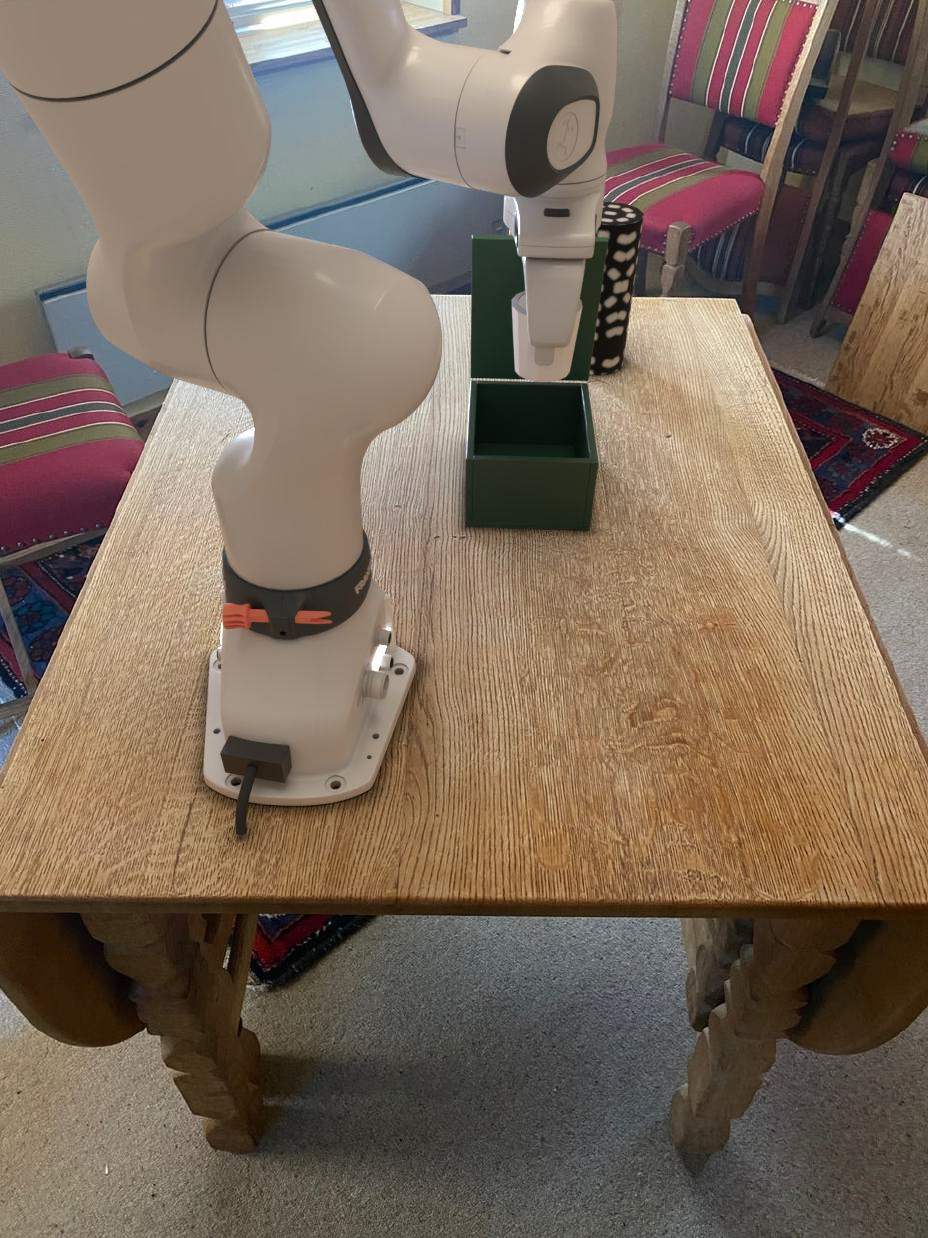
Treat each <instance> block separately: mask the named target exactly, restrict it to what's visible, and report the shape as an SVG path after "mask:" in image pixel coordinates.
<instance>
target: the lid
mask: <svg viewBox="0 0 928 1238" xmlns="http://www.w3.org/2000/svg"><path fill="white" fill-rule="evenodd" d="M607 247H608V237H595V246H594V253H593V256H592V258H586V260H585V269H584V276H583V283H582V288H581V294H580V300H581V301H582V312H581V317H580V322H579V327H578V332H577V337H576V342H575V347H574V352H573V358H572V363H571V368H570V372H569V373H568V375H567V376H566V377H564V378H563V379H561V380H559V382H564V381H565V382H589V379H590V374H589V373H590V366H591V359H592V352H593V345H594V338H595V331H596V324H597V317H598V310H599V303H600V296H601V289H602V282H603V275H604V268H605V261H606V254H607ZM470 275H471V279H470V280H471V281H470V282H471V283H470V284H471V285H470V286H471V288H470V289H471V290H470V292H471V293H470V376H469V377H470V379H479V380H485V379H486V380H520V381H521V380H522V381H528V380H527V379H525V378H523V377H521V376H519V375H518V374H517V373H516V372H515V363H514V341H513V319H512V299H513V298H514V297H515V295H516V294H518V293H521V292H523V291H525V278H524V268H523V262H522V257H520V256H519V255H518V253H517V248H516V243H515V240H514V237H513V235H512V233H511V231H510V229H509V230H508V234H482V233H481V234H479V233H478V234H475V233H473V234H471V274H470Z"/></svg>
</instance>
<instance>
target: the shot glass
mask: <svg viewBox="0 0 928 1238" xmlns="http://www.w3.org/2000/svg"><path fill="white" fill-rule="evenodd" d="M581 312H582V301H581V300H580V299H579V305H578V310H577V315H576V320H575V326H574V330H573V334H572V337H571V340H570V342H569V344H568V346H566V347H561V348H555V350H554V361H553V364H552V365H550V366H538V365H537V364H536V363H535V347H534V346H532V345H531V344H530V342H529V337H528V327H527V311H526V294H525V291H523V292H521V293H518V294H516V295H515V297H514V298H513V299H512V319H513V341H514V363H515V372H516V373H517V374H518V375H519V376H521V377H523V378H525V379H527V380H526V381H529V382H559V381H560V380H561V379H563V378H564V377H566V376H567V375H568V373H569V372H570V368H571V363H572V358H573V352H574V347H575V342H576V337H577V332H578V327H579V322H580V317H581Z"/></svg>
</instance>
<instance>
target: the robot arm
mask: <svg viewBox="0 0 928 1238" xmlns="http://www.w3.org/2000/svg"><path fill="white" fill-rule="evenodd" d="M311 2H312V5H313V7H314V9H315V12H316V14H317V16H318V19H319V21H320V24H321V26H322V28H323V32H324V33H325V37H326V39H327V41H328V44H329V46H330V49H331V51H332V53H333V55H334V58H335V60H336V62H337V65H338V67H339V71H340V72H341V76H342V77H343V80H344V83H345V86H346V89H347V92H348V96H349V102H350V105H351V106H350V107H351V111H352V117H353V122H354V125H355V129H356V132H357V135H358V139H359V140H360V144H361V145H362V148H363V149H364V151H365V153H366V154H367V156H368V158H369V160H370V161H371V163H372V164H374V166H376V167H377V168H378V170H380V171H381V172H382V173H385V174H387V175H390V176H396V177H404V178H411V179H419V180H426V179H427V180H432V181H437V182H439V183H444V184H449V185H454V186H458V187H463V188H467V189H471V190H476V191H483V192H487V193H492V194H497V195H500V196H501V195H502V196H503V212H502V213H503V215H502V216H503V217H502V218H503V219H502V220H503V223H504V224H505V226H506V227H507V228H508V229H509V230H510V231H511V233H512V235H513V237H514V240H515V243H516V248H517V253H518V255H519V256H520V257H522V262H523V268H524V278H525V294H526V311H527V327H528V337H529V342H530V344H531V345H532V346H534V347H535V363H536V364H537V365H538V366H550V365H552V364H553V361H554V350H555V348H561V347H566V346H568V344H569V342H570V340H571V337H572V334H573V330H574V326H575V320H576V315H577V310H578V305H579V299H580V294H581V288H582V283H583V276H584V269H585V260H586V258H592V256H593V253H594V246H595V237H596V233H597V230H598V228H599V227H600V225H601V219H602V210H603V202H604V200H605V199H604V198H605V192H606V181H607V171H608V159H607V153H606V140H607V139H606V138H607V134H608V130H609V126H610V124H611V122H612V119H613V115H614V107H615V97H616V89H617V88H616V86H617V75H618V73H617V72H618V20H617V11H616V10H617V9H616V5H615V2H614V1H613V0H518V3H517V8H516V14H515V15H516V16H515V19H514V26H513V33H512V34H511V35H510V37H509V38H508V39H507V40H505V41H504V43H502V44H501V45H499V46H498V49H489V48H482V47H475V46H468V45H463V44H462V45H461V44H456V43H450V42H445V41H442V40H438V39H435V38H433V37H431V36H428V35H426V34H425V33H422V32H420V31H419V30H417V28H414V27H413V26H412V25H411V24H410V23H409V22H408V21H407V19H406V17H405V13H404V9H403V7H402V3H401V0H311ZM0 71H1V72H2V74H3V76H4V77H5V79H6V81H7V83H8V84H9V86H11V88H12V90H13V92H14V93H15V94H16V96H17V97H18V99H19V100H20V102H21V104H22V106H23V107H24V108H25V110H26V111H27V113H28V115H29V116H30V118H31V119H32V121H33V122H34V125H36V127H37V129H38V131H39V132H40V133H41V135H42V137H43V138H44V140H45V141H46V143H47V144H48V146H49V147H50V149H51V150H52V152H53V154H54V156H55V157H56V159H57V160H58V162H59V164H60V165H61V167H62V168H63V170H64V171H65V173H66V174H67V176H68V178H69V180H70V181H71V183H72V184H73V186H74V187H75V190H76V191H77V192H78V194H79V195H80V198H81V200H82V202H83V203H84V205H85V208H86V209H87V211H88V214H89V215H90V218H91V220H92V222H93V226H94V228H95V231H96V234H97V237H98V239H97V240H96V242H95V244H94V246H93V249H92V251H91V253H90V257H89V260H88V263H87V270H86V282H85V285H86V288H85V289H86V298H87V303H88V308H89V311H90V314H91V317H92V320H93V322H94V324H95V325H96V327H97V329H98V330H99V332H100V334H101V335H102V336H103V338H105V339H106V341H107V342H108V343H110V344H111V345H112V346H114V347H116V348H118V349H119V350H120V351H122V352H124V353H125V354H127V355H128V356H130V357H131V358H133V359H135V360H136V361H138V362H139V363H142V364H143V365H145V366H147V367H148V368H150V369H152V370H154V371H156V372H158V373H159V374H161V375H163V376H165V377H169V378H172V379H175V380H178V381H182V382H185V383H188V384H191V385H194V386H198V387H200V388H201V387H202V388H204V389H205V388H206V389H208V390H211V391H215V392H218V393H221V394H225V395H228V396H231V397H234V398H235V399H238V400H240V401H242V403H243V404H244V405H245V406H246V408H247V410H248V411H249V413H250V416H251V419H252V422H253V427H252V428H249V429H247V430H245V431H244V432H242V433H240V434H239V435H237V436H236V437H234V438H233V439H231V441H230V442H229V443H228V444H227V445H226V446H225V447H224V449H223V450H222V452H221V453H220V455H219V457H218V459H217V461H216V463H215V465H214V467H213V471H212V474H211V481H210V486H211V491H212V496H213V501H214V505H215V509H216V514H217V520H218V524H219V529H220V533H221V538H222V541H223V548H222V553H221V559H222V564H221V565H222V568H221V577H222V586H223V589H221V590H220V592H219V596H220V599H221V603H222V613H221V614H222V616H221V628H220V637H219V640H220V646H218V647H217V648H216V649H215V650H213V651H212V652H211V653H210V655H209V656H210V657H209V667H208V684H207V699H206V701H207V702H206V719H205V720H206V721H205V735H204V752H203V769H202V771H203V772H202V773H203V779H204V783H205V785H206V786H208V787H209V788H210V789H211V790H213V791H215V792H216V793H219V794H220V795H223V796H225V797H228V798H231V799H233V800H237V801H236V806H235V815H234V816H235V817H234V818H235V820H234V821H235V823H234V824H235V826H234V827H235V835H237V836H245V835H246V834H247V833H248V831H247V829H248V827H247V821H248V820H247V816H248V815H247V814H248V807H249V803H252V804H259V805H267V806H269V805H270V806H282V807H283V806H286V807H293V806H295V807H297V806H300V807H302V806H303V807H304V806H318V805H319V806H320V805H326V804H333V803H337V802H341V801H345V800H349V799H352V798H355V797H357V796H359V795H361V794H363V793H366V792H367V791H369V790H370V789H371V788H372V787H373V785H374V784H375V782H376V779H377V777H378V774H379V772H380V770H381V766H382V763H383V761H384V759H385V755H386V753H387V750H388V747H389V745H390V742H391V739H392V737H393V734H394V732H395V728H396V726H397V723H398V721H399V718H400V715H401V713H402V710H403V708H404V704H405V702H406V699H407V696H408V694H409V691H410V688H411V687H412V683H413V680H414V678H415V676H416V672H417V662H416V659H415V657H414V656H413V655H412V654H411V653H410V652H409V651H407V650H405V649H403V648H402V647H400V646H398V645H397V640H396V639H397V638H396V629H395V621H394V613H393V606H392V605H393V604H392V597H391V596H390V595H389V594H388V593H387V591H385V590H384V589H383V588H382V587H381V586H380V585H379V584H378V583H377V582H376V580H375V579H374V578H373V577H372V576H373V572H372V570H373V569H372V565H373V561H372V560H373V557H372V550H371V546H370V543H369V542H370V541H369V538H368V534H367V532H366V530H365V529H364V528H363V518H362V515H363V513H362V491H361V490H362V489H361V488H362V487H361V486H362V485H361V484H362V480H361V479H362V478H361V477H362V476H361V475H362V466H363V462H364V459H365V456H366V453H367V450H368V448H369V446H370V445H371V444H372V442H374V440H375V439H376V438H377V437H378V436H379V435H381V434H382V433H384V432H385V431H388V430H390V429H392V428H394V427H396V426H398V425H399V424H401V423H402V422H404V421H405V420H406V419H408V418H409V417H410V416H411V415H412V414H414V412H415V411H417V409H419V407H420V406H421V405H422V403H423V402H424V401H425V400H426V399H427V397H428V395H430V394H429V393H430V392H431V390H432V388H433V386H434V383H435V381H436V379H437V377H438V374H439V371H440V366H441V363H442V356H443V330H442V325H441V318H440V316H439V315H440V314H439V312H438V309H437V306H436V303H435V301H434V299H433V297H432V295H431V293H430V291H429V289H428V288H427V286H426V285H425V284H424V283H423V282H422V281H420V280H419V279H417V278H416V277H413V276H412V275H410V274H408V273H406V272H404V271H402V270H401V269H399V268H396V267H395V266H393V265H391V264H388V263H386V262H384V261H382V260H380V259H378V258H376V257H373V256H372V255H370V254H368V253H366V252H363V251H360V250H358V249H354V248H349V247H346V246H342V245H337V244H332V243H328V242H324V241H319V240H316V239H309V238H307V237H301V236H297V235H292V234H288V233H284V232H280V231H277V230H274V229H271V228H269V227H267V226H265V225H264V224H262V223H261V222H260V221H259V220H257V219H256V218H255V217H254V216H253V215H252V214H251V213H250V211H249V210H248V209H247V208H246V206H245V205H246V204H247V203H248V202H249V201H250V200H251V198H252V197H253V196H254V194H255V193H256V192H257V190H258V188H259V186H260V184H261V182H262V181H263V179H264V176H265V173H266V170H267V166H268V162H269V158H270V152H271V145H272V124H271V117H270V115H269V111H268V108H267V106H266V104H265V101H264V99H263V96H262V94H261V92H260V89H259V86H258V83H257V81H256V79H255V76H254V74H253V71H252V68H251V66H250V63H249V61H248V59H247V56H246V53H245V51H244V48H243V46H242V43H241V41H240V39H239V37H238V34H237V32H236V29H235V26H234V24H233V21H232V19H231V16H230V14H229V11H228V9H227V6H226V4H225V1H224V0H0ZM236 784H238V785H236ZM335 787H338V788H336V789H335Z"/></svg>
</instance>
